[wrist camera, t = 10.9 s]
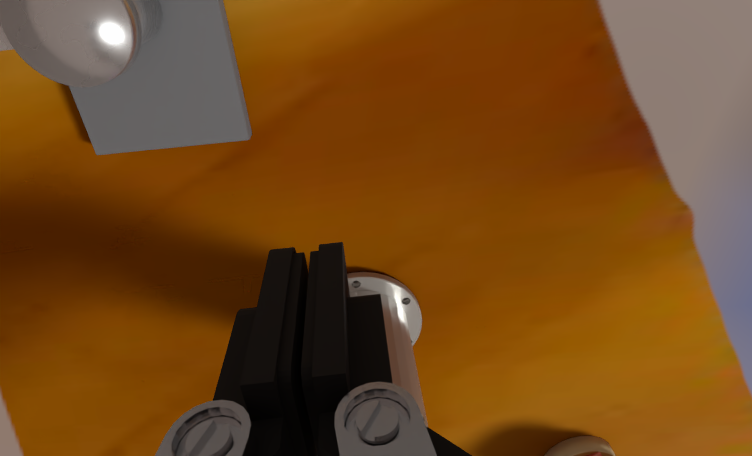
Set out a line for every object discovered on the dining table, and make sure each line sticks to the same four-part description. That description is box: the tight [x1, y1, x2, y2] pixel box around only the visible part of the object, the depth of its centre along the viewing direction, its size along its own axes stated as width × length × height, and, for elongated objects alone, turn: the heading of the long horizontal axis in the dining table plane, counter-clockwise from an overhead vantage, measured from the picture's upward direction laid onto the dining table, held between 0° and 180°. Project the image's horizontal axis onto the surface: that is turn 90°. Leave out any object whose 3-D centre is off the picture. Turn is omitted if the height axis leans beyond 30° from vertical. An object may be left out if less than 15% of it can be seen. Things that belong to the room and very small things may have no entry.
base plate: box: [69, 0, 252, 155], centre depth 33 cm, size 20×12×2 cm, turn 4°
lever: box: [0, 0, 163, 87], centre depth 28 cm, size 17×6×9 cm, turn 95°
